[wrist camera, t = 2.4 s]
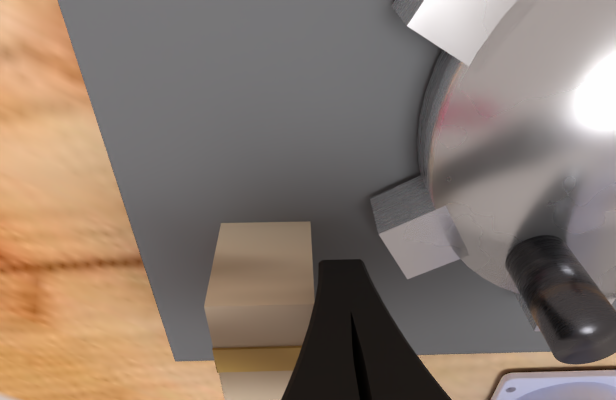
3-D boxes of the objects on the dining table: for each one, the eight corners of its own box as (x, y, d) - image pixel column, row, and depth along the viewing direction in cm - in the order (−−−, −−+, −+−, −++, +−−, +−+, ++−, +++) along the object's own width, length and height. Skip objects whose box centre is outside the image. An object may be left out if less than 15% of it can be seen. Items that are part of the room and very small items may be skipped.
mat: (684, 329, 21) (699, 347, 20) (179, 341, 20) (175, 361, 19) (1224, -295, 8) (1321, -313, 8) (-16, -310, 8) (-50, -331, 7)
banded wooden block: (310, 315, 17) (313, 400, 15) (235, 317, 17) (224, 403, 15) (310, 221, 14) (315, 306, 12) (220, 222, 14) (202, 308, 12)
